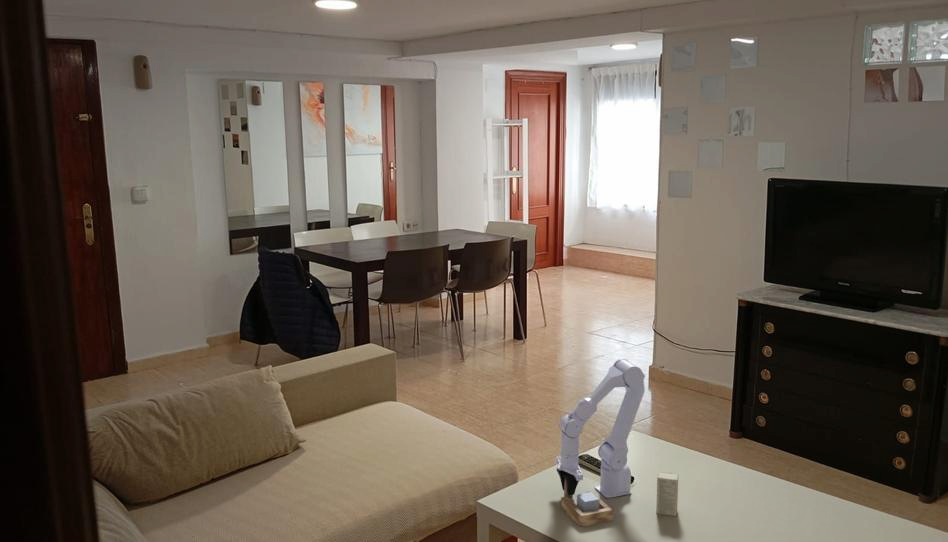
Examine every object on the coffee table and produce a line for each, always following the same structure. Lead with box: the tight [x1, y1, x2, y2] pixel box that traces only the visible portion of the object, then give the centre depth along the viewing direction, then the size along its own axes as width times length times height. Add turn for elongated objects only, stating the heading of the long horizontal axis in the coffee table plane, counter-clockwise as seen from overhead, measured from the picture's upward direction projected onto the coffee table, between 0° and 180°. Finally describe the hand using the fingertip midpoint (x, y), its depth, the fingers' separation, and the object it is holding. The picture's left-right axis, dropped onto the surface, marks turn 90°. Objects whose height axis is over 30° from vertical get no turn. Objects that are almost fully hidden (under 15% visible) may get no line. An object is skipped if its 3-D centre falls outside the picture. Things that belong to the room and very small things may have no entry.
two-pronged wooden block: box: [560, 491, 614, 527], centre depth 236 cm, size 11×13×4 cm
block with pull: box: [563, 480, 600, 513], centre depth 241 cm, size 5×16×6 cm, turn 21°
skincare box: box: [655, 471, 679, 517], centre depth 237 cm, size 6×4×12 cm
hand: (568, 492), depth 247 cm, fingers closed on block with pull, 3 cm apart
